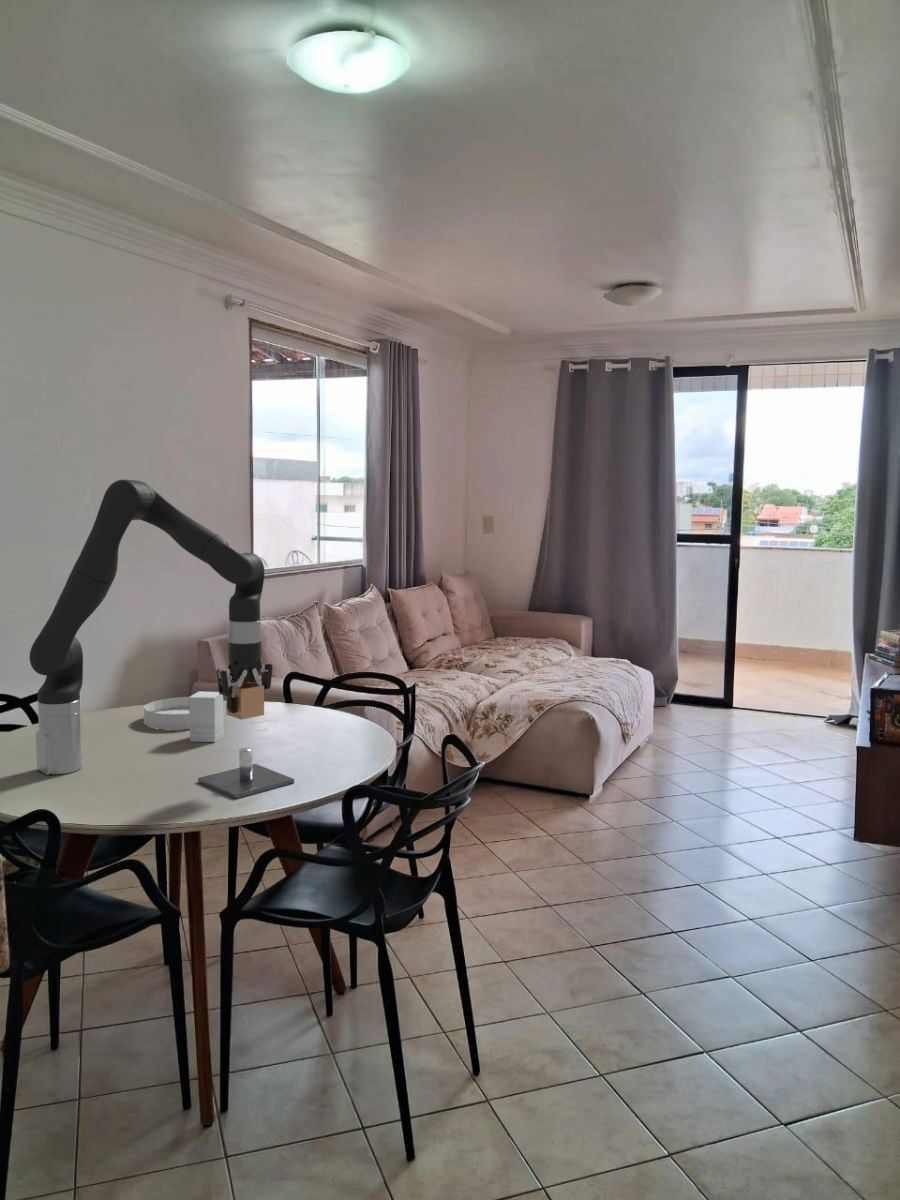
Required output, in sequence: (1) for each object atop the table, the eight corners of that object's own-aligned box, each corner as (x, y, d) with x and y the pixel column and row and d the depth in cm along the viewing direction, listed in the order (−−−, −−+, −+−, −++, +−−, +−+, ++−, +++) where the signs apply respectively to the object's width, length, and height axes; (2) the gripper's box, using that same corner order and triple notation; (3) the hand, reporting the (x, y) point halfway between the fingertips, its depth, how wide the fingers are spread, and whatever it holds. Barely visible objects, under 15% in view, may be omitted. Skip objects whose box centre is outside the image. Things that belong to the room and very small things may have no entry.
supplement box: (224, 735, 244) (224, 691, 242) (215, 743, 236) (214, 697, 235) (199, 734, 244) (198, 690, 243) (188, 741, 237) (188, 696, 235)
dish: (193, 708, 274) (192, 693, 274) (236, 721, 261) (235, 704, 260) (128, 721, 257) (128, 705, 257) (171, 735, 243) (170, 718, 243)
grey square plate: (235, 799, 193) (235, 764, 192) (197, 782, 204) (197, 749, 203) (294, 783, 205) (294, 750, 204) (255, 767, 216) (255, 736, 215)
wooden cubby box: (241, 719, 198) (241, 689, 197) (226, 714, 202) (226, 685, 201) (264, 715, 202) (264, 685, 202) (249, 710, 207) (248, 681, 206)
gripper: (226, 645, 193) (227, 718, 194) (280, 638, 203) (280, 708, 205) (208, 640, 198) (209, 712, 200) (261, 634, 208) (262, 702, 210)
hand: (245, 710), depth 202 cm, fingers closed on wooden cubby box, 6 cm apart
